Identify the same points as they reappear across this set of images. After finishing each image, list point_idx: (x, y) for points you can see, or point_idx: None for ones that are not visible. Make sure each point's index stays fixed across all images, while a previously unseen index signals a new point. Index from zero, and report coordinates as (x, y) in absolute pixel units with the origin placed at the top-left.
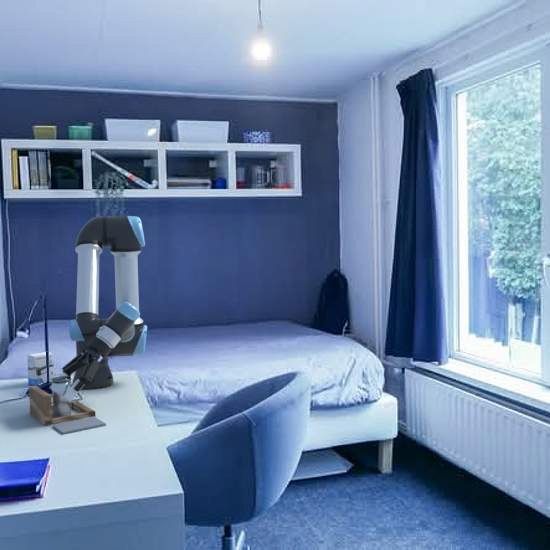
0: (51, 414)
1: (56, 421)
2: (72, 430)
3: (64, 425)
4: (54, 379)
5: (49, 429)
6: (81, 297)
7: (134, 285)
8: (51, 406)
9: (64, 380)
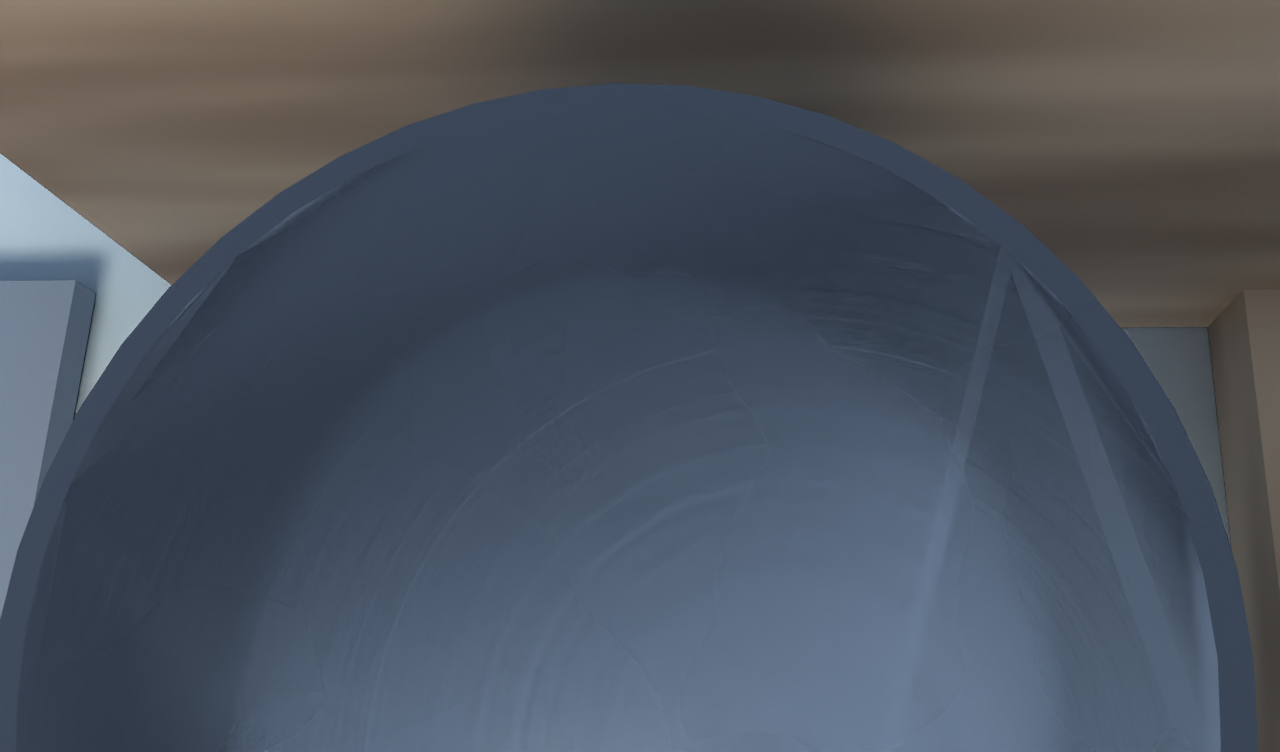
0: (132, 244)
1: None
2: None
3: None
4: (549, 203)
5: (21, 214)
6: None
7: None
8: (25, 167)
9: (18, 635)
